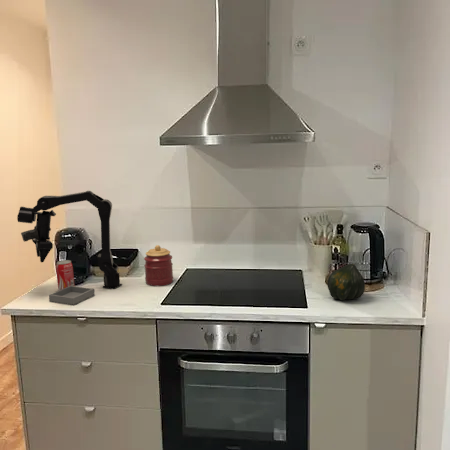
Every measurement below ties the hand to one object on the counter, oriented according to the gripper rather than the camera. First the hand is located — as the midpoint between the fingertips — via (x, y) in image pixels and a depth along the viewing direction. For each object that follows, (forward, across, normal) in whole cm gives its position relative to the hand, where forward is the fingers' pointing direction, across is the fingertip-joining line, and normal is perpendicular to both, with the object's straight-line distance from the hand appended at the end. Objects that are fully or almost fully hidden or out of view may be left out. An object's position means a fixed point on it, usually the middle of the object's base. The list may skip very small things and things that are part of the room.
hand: (40, 259), depth 210 cm
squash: (-7, +80, +105) cm, 133 cm away
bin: (+12, +18, +11) cm, 25 cm away
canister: (+6, +17, +50) cm, 54 cm away
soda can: (+13, +4, +12) cm, 18 cm away
